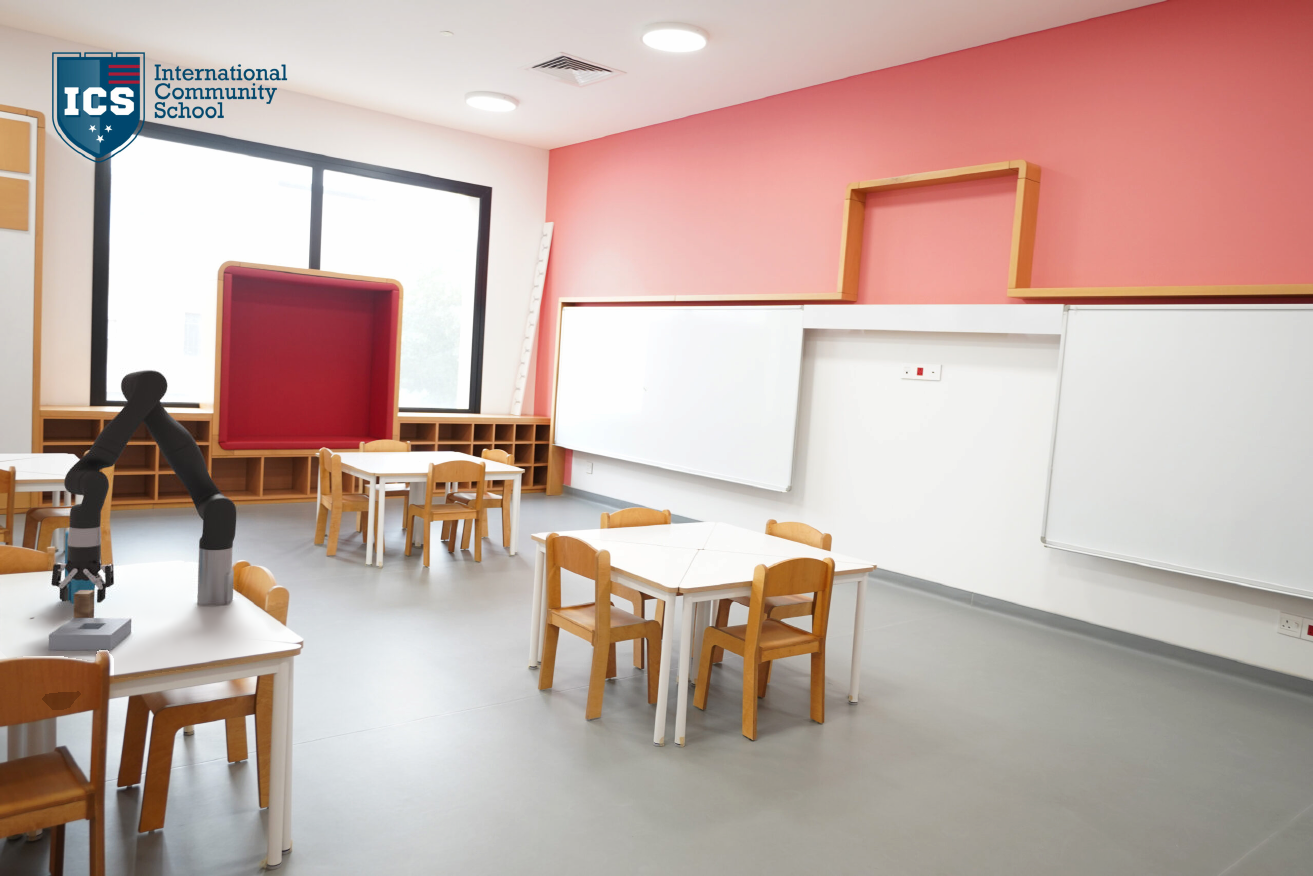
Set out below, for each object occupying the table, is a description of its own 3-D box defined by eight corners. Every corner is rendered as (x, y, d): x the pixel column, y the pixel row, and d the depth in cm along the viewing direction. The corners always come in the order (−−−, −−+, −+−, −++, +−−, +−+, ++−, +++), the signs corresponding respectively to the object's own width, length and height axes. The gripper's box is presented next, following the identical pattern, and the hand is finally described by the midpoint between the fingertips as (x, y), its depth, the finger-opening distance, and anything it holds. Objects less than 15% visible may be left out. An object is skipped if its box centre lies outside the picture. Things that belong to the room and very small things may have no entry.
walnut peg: (93, 626, 238) (94, 590, 237) (88, 630, 234) (89, 593, 233) (79, 625, 237) (79, 590, 236) (73, 630, 233) (74, 593, 233)
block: (96, 603, 256) (97, 537, 255) (76, 606, 253) (77, 539, 251) (82, 594, 264) (83, 530, 262) (63, 597, 260) (64, 531, 259)
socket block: (131, 632, 235) (131, 618, 234) (110, 650, 221) (110, 634, 221) (73, 632, 231) (73, 617, 231) (48, 650, 218) (48, 634, 218)
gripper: (119, 541, 239) (116, 598, 240) (61, 538, 236) (59, 597, 237) (108, 546, 232) (105, 606, 233) (48, 544, 229) (46, 604, 230)
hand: (82, 601), depth 235 cm, fingers open, 8 cm apart
